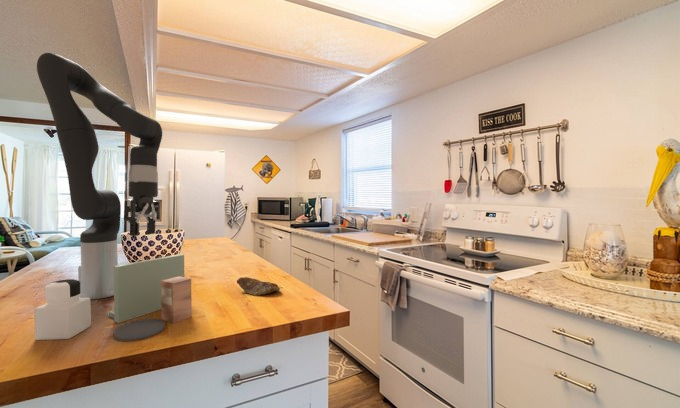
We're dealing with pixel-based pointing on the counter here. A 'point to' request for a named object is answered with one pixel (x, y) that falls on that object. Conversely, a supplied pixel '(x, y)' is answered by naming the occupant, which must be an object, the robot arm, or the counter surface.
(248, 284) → the decorative stone
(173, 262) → the screen
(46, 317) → the white stepped block
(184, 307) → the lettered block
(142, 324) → the mat
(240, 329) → the counter surface
